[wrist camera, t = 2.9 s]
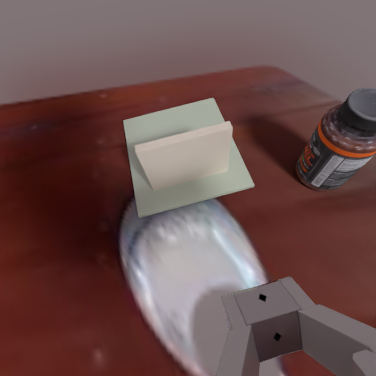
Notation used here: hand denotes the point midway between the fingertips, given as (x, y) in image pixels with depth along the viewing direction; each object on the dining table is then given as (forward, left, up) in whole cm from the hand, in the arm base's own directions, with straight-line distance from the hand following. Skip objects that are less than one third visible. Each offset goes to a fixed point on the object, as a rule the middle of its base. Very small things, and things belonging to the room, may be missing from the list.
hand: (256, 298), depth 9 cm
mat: (0, +20, -15) cm, 25 cm away
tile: (0, +15, -15) cm, 21 cm away
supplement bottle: (+16, +11, -15) cm, 25 cm away
